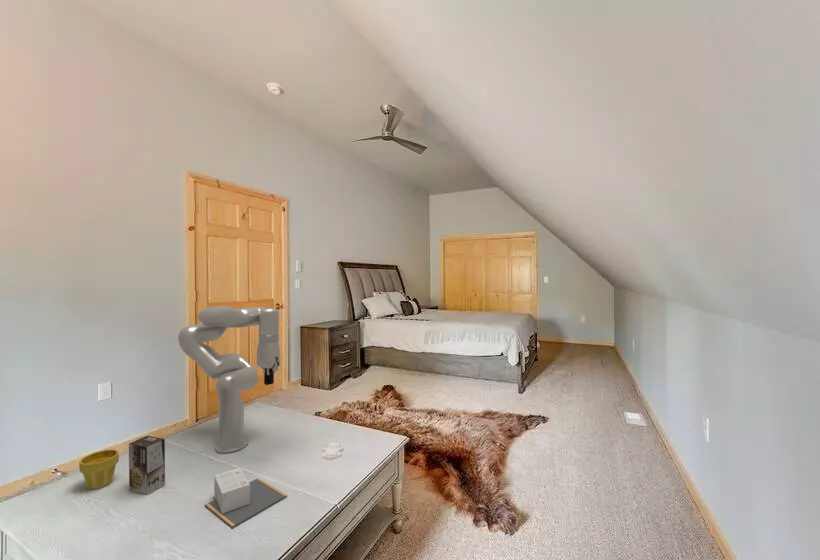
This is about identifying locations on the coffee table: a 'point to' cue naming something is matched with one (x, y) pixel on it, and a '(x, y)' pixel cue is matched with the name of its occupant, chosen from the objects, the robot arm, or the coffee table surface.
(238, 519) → the mat
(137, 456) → the coffee box
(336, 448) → the astronaut figurine
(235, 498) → the small box
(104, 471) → the plant pot
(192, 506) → the coffee table surface
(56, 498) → the coffee table surface
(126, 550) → the coffee table surface
